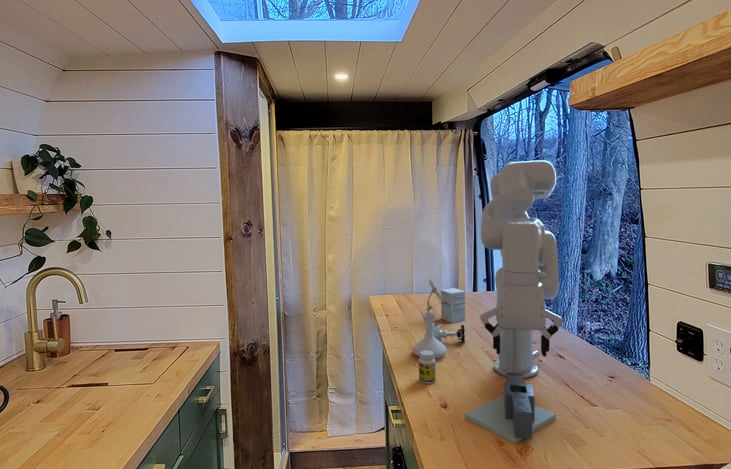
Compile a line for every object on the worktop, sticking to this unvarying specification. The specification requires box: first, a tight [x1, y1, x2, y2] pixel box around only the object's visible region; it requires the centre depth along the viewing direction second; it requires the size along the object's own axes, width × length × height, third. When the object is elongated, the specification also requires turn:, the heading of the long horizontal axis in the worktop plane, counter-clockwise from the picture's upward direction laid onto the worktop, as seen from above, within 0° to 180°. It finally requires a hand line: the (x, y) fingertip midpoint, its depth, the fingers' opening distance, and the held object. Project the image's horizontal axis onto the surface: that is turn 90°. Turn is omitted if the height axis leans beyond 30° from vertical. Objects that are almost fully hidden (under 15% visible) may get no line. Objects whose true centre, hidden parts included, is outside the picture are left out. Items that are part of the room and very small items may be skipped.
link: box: [503, 381, 536, 440], centre depth 104 cm, size 18×6×6 cm, turn 166°
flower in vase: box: [412, 279, 448, 359], centre depth 147 cm, size 13×11×25 cm
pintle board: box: [464, 372, 557, 445], centre depth 107 cm, size 20×15×6 cm
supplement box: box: [440, 287, 466, 324], centre depth 184 cm, size 7×7×13 cm
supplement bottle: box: [418, 350, 437, 385], centre depth 128 cm, size 5×5×8 cm
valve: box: [433, 323, 466, 344], centre depth 158 cm, size 7×7×12 cm
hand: (520, 353), depth 99 cm, fingers open, 9 cm apart
